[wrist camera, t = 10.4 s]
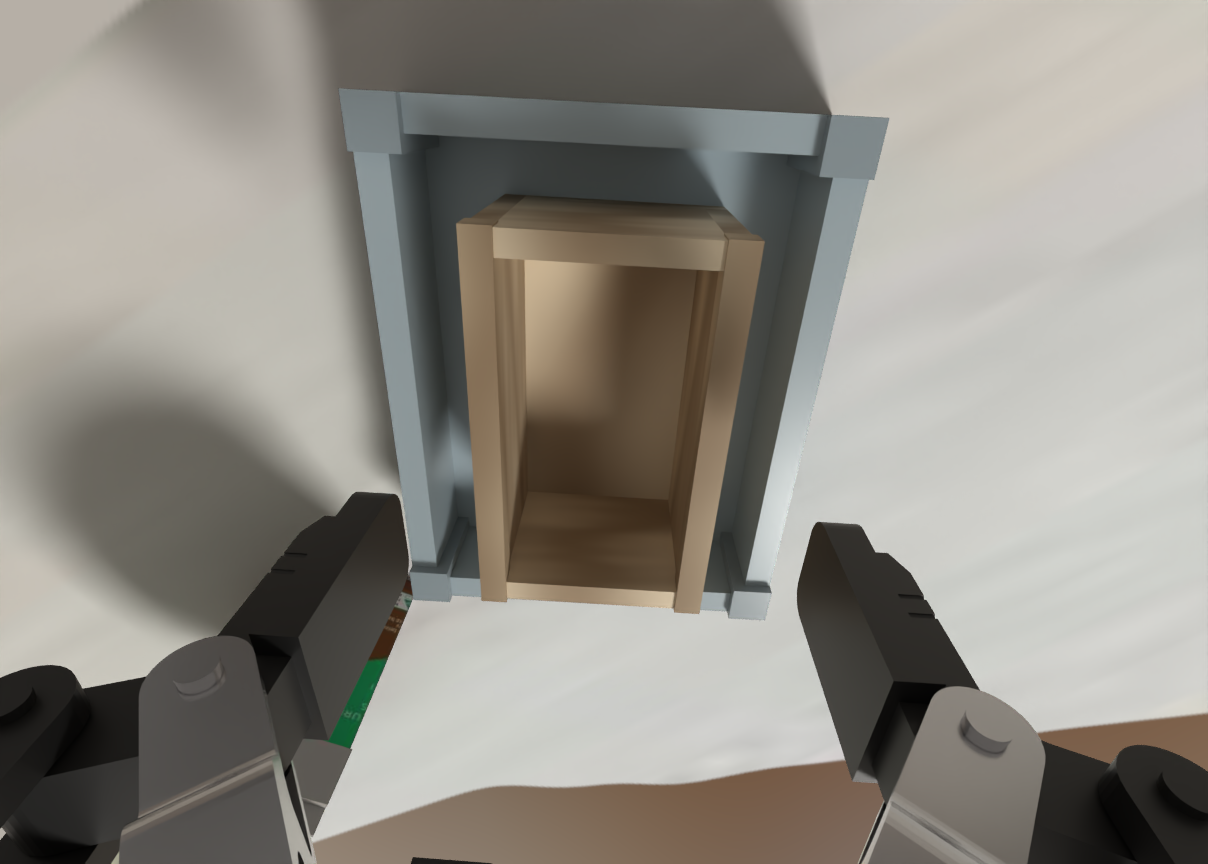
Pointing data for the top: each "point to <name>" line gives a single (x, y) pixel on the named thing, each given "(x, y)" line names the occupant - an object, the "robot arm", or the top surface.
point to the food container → (343, 725)
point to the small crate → (602, 392)
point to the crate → (609, 172)
